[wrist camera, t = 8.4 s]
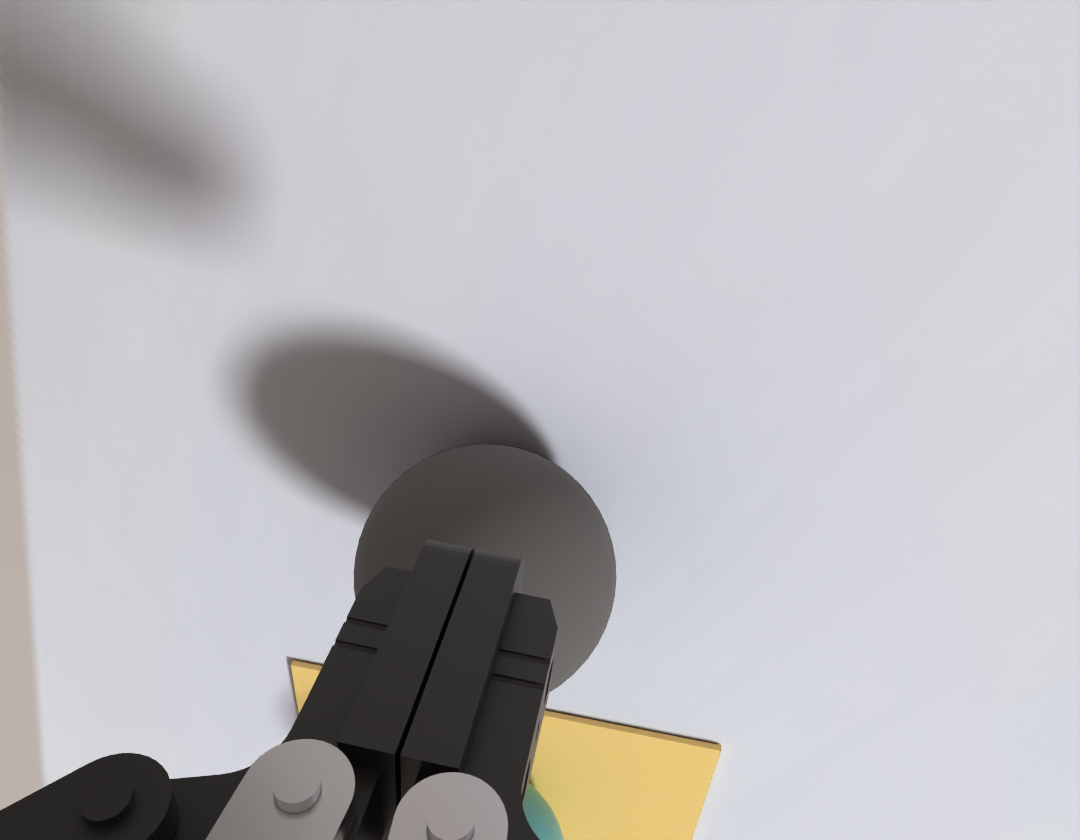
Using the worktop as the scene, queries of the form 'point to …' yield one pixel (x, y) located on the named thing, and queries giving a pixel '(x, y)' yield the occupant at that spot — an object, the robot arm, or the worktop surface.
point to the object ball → (541, 816)
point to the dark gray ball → (504, 534)
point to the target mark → (607, 775)
